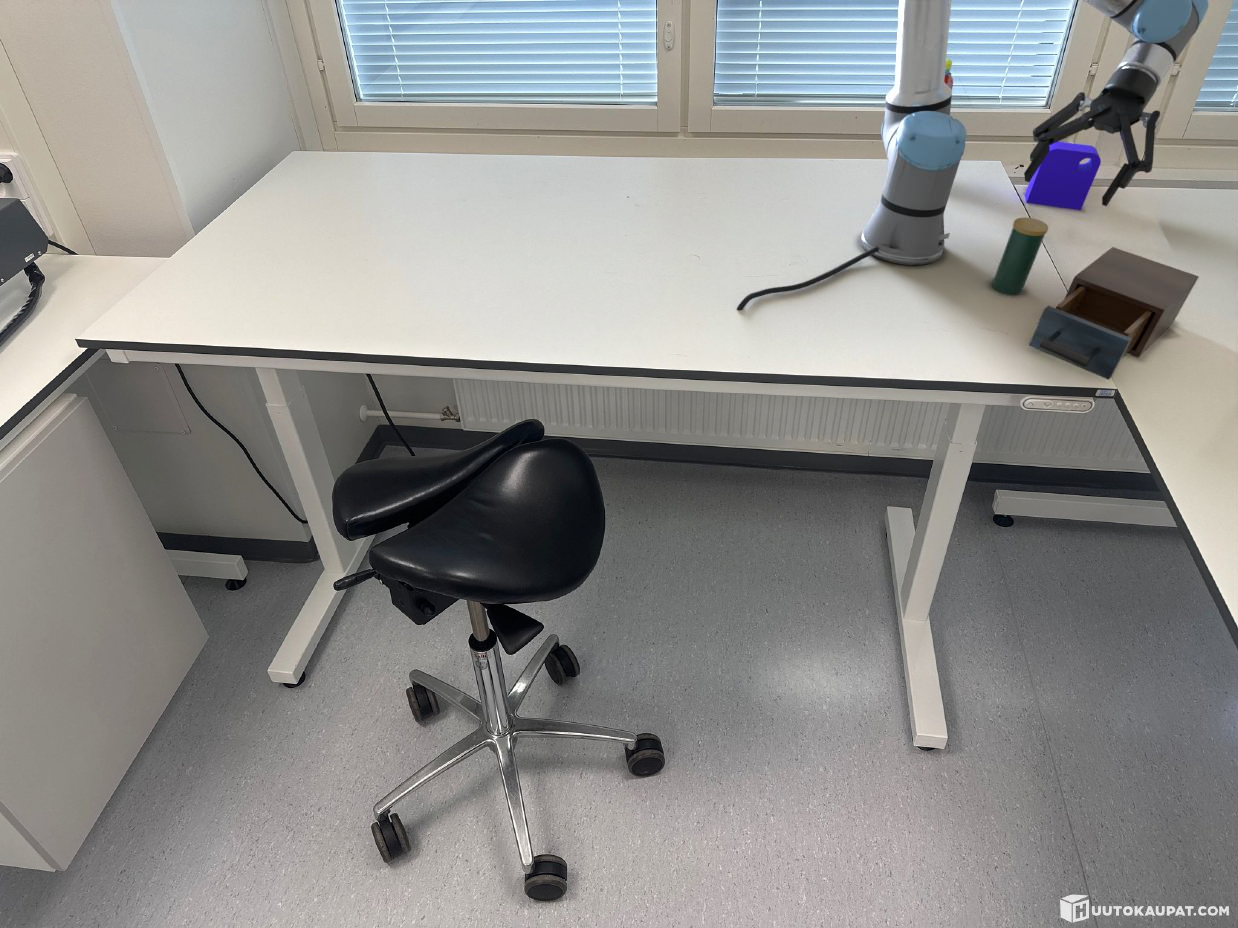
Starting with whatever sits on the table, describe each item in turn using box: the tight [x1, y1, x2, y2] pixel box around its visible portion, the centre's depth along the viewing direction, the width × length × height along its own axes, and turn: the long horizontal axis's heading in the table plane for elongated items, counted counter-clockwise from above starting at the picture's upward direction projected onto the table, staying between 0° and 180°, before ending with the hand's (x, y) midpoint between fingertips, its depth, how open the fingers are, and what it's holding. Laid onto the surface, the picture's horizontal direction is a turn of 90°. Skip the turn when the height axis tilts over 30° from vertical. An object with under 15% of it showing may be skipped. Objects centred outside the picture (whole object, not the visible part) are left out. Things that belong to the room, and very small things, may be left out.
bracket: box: [1024, 141, 1102, 211], centre depth 173 cm, size 18×11×12 cm, turn 163°
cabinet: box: [1064, 246, 1200, 359], centre depth 132 cm, size 16×14×9 cm
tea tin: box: [991, 217, 1049, 296], centre depth 140 cm, size 6×6×12 cm
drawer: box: [1028, 285, 1155, 381], centre depth 124 cm, size 20×13×7 cm, turn 134°
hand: (1064, 190), depth 139 cm, fingers open, 13 cm apart
